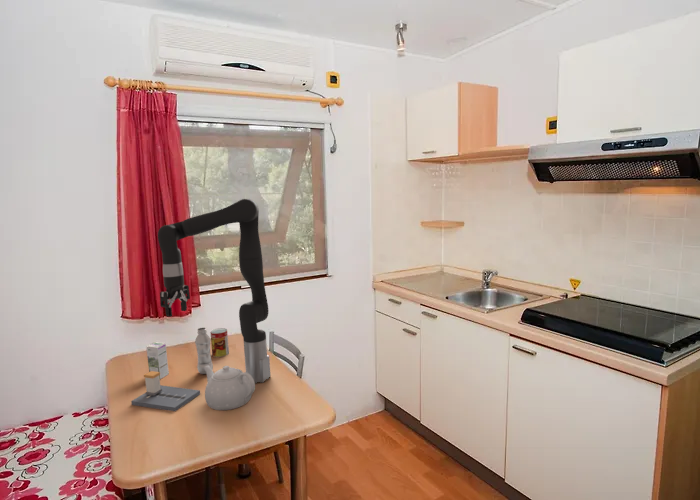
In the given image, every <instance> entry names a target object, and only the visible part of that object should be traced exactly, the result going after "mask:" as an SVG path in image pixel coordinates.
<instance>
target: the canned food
mask: <svg viewBox="0 0 700 500" xmlns="http://www.w3.org/2000/svg"><path fill="white" fill-rule="evenodd" d="M209 333H210V339H211V342H210V346H211V353H212V354H211V355H212V356H214V358H223V357H226V356H228V355H229V354H230V349H229V338H228V337H229V336H228V329H227V328H222V327H218V328H215V329H211V330H210V332H209ZM212 356H211V357H212ZM222 356H223V357H222Z"/></svg>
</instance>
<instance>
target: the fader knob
mask: <svg viewBox="0 0 700 500" xmlns="http://www.w3.org/2000/svg"><path fill="white" fill-rule="evenodd" d="M159 375H160V372H154V371H150V372H149V371H148V372H146V373H144V374H143V378H144V379H145V381H144V382H145V389H146V392H144V393H145V395H151V396H154V395H156V394H158V393H159V392H161V391H162V389H161V388H160V385H161V379H160V378H159Z"/></svg>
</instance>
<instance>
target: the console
mask: <svg viewBox="0 0 700 500" xmlns="http://www.w3.org/2000/svg"><path fill="white" fill-rule="evenodd" d="M160 388H161V389H162V391H161V392H159V393H158V394H156V395H154V396H151V395H145V392H144V393H142V394H141V395H139V396H138V397H136V398H134V399H132V400H131V401H130V402H131V405H132V406H138V407H143V408H149V409H157V410H164V411H170V412H177V411H179V409H181V408H182V407H184V406H185V405H186V404H188V403H190V402H191V401H192V400H194V399H195V398H196V397H198V396H200V395H201V390H199V389H192V388H185V387H184V388H183V387H176V386H170V385H169V386H168V385H161V384H160Z"/></svg>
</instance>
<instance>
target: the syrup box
mask: <svg viewBox="0 0 700 500" xmlns="http://www.w3.org/2000/svg"><path fill="white" fill-rule="evenodd" d="M166 344H167V343H166V342H157V341H156V342H152V343H150V344H148V345H147V346H146V347H145V348H146V355H147V365H148V372H150V371H154V372H160V375H159V378H160V380H161V379H163V378H165V377H166V376H168V375H169V372H170V371H169V364H168V362H169V361H168V354H167V345H166Z"/></svg>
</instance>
